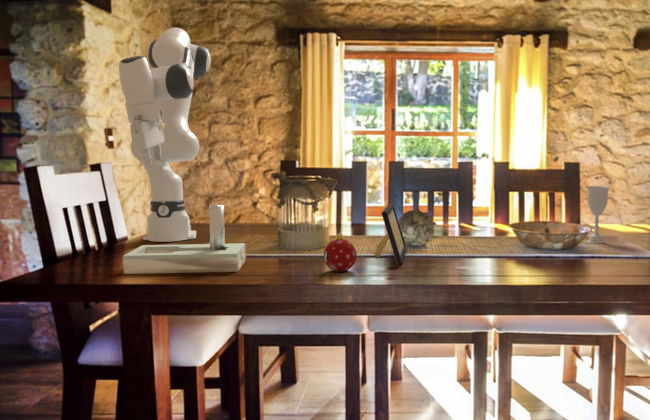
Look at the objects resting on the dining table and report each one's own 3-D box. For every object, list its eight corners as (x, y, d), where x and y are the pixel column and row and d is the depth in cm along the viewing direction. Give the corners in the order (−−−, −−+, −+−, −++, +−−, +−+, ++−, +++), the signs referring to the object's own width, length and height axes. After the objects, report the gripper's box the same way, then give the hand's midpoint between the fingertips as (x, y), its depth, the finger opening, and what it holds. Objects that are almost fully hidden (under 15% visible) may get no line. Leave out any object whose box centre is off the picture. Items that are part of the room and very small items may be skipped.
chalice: (612, 243, 177) (614, 187, 175) (590, 244, 178) (592, 188, 176) (601, 239, 185) (603, 186, 183) (580, 240, 185) (582, 186, 183)
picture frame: (402, 265, 150) (395, 210, 149) (369, 268, 152) (362, 214, 151) (406, 249, 173) (401, 202, 172) (378, 252, 175) (372, 205, 174)
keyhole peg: (206, 259, 158) (205, 203, 156) (234, 259, 158) (233, 203, 156) (200, 265, 150) (198, 207, 148) (229, 265, 150) (228, 207, 148)
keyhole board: (143, 261, 162) (142, 245, 161) (245, 259, 162) (245, 243, 162) (123, 273, 146) (122, 255, 146) (237, 271, 146) (237, 253, 146)
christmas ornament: (362, 272, 143) (362, 234, 142) (333, 276, 139) (332, 237, 138) (347, 266, 150) (346, 230, 149) (318, 270, 147) (317, 232, 145)
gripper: (144, 114, 148) (154, 165, 151) (163, 111, 168) (172, 156, 171) (120, 117, 148) (131, 168, 151) (143, 114, 168) (152, 159, 171)
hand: (153, 162), depth 161 cm, fingers open, 8 cm apart
